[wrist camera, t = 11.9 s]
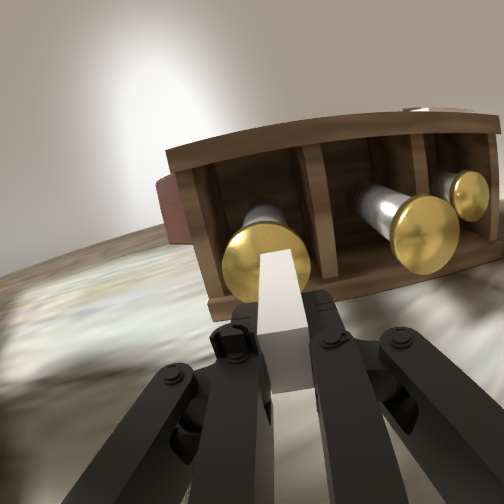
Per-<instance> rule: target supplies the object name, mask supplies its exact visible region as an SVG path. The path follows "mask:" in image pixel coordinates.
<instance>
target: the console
mask: <svg viewBox="0 0 504 504" xmlns="http://www.w3.org/2000/svg"><path fill="white" fill-rule="evenodd" d="M496 134H501V128H500V121H499V116H496V115H488V114H477V113H474V110H470V109H455V108H429V107H428V108H423V109H421V108H405V109H403V111H402V112H377V113H362V114H350V115H339V116H330V117H321V118H313V119H306V120H299V121H292V122H287V123H280V124H274V125H269V126H263V127H259V128H253V129H248V130H243V131H238V132H234V133H229V134H225V135H221V136H216V137H212V138H208V139H204V140H200V141H197V142H193V143H189V144H186V145H182V146H178V147H175V148H171V149H168V150H165V151H166V156H167V160H168V165H169V169H170V173H171V174H172V173H175V178H176V182H177V186H178V190H179V194H180V198H181V202H182V205H183V209H184V213H185V217H186V221H187V224H188V228H189V232H190V235H191V239H192V243H193V246H194V250H195V253H196V257H197V260H198V264H199V267H200V270H201V274H202V277H203V280H204V284H205V287H206V290H207V294H208V297H209V301H208V304H207V305H208V308H209V311H210V314H211V317H212V320H213V322H216V321H223V320H230V319H231V317H232V312H233V311H234V309H235V308H236V307H237V306H238V305H239V304H244V303H245V302H243V301H241V300H239V299H238V298H237V297H236V296H234V295H233V293H232V292H231V291H230V290H229V288H228V287H227V285H226V283H225V281H224V278H223V273H222V261H223V257H224V254H225V251H226V248H227V245H228V243H229V241H230V240H231V238H232V237H233V235H234V234H235V233H236V232H237V231H239V230H240V229H241V228H242V226H243V222H244V219H245V215H246V211H247V207H248V205H249V204H250V203H251V201H253V200H254V199H256V198H258V197H261V196H268V197H272V198H274V199H275V200H277V201H278V202H279V204H280V205H281V207H282V209H283V213H284V216H285V219H286V222H287V225H288V227H290V228H291V229H293V230H294V231H295V232H296V233H297V234H298V235H299V236H300V238H301V239H302V241H303V243H304V245H305V247H306V249H307V252H308V255H309V258H310V265H311V268H310V275H309V279H308V282H307V284H306V286H305V287H304V289H303V290H302V291H301V293H304V292H310V291H315V290H321V289H324V290H326V291H327V292H329V293H330V294H331V295H332V298H333V300H334V302H335V301H340V300H345V299H350V298H355V297H359V296H364V295H368V294H373V293H377V292H381V291H386V290H390V289H394V288H398V287H402V286H406V285H410V284H414V283H418V282H422V281H425V280H429V279H433V278H437V277H440V276H444V275H447V274H451V273H454V272H458V271H461V270H465V269H468V268H471V267H475V266H478V265H481V264H484V263H487V262H490V261H494V260H497V259H500V258H501V251H502V241H500V240H498V239H497V237H498V223H499V167H498V154H497V153H498V152H497V142H496ZM427 168H432V169H437V170H442V171H446V172H451V173H455V174H458V173H459V172H461V171H464V170H469V171H473V172H477V173H479V174H481V175H482V176H483V177H484V178H485V180H486V182H487V185H488V188H489V202H488V206H487V209H486V211H485V213H484V214H483V216H482V217H481V218H480V219H479V220H477V221H474V222H468V221H466V220H464V219H462V218H459V217H458V220H459V226H460V234H459V241H458V244H457V247H456V250H455V252H454V254H453V255H452V257H451V259H450V260H449V261H448V262H447V263H446V264H445V265H444V266H443V267H442V268H441V269H439V270H438V271H436V272H434V273H431V274H427V275H419V274H415V273H413V272H411V271H409V270H408V269H407V268H406V267H405V266H404V265H403V264H402V263H401V262H399V261H398V260H397V258H396V257H395V256H394V254H393V252H392V249H391V246H390V241H389V240H388V239H386V238H385V237H384V236H383V235H381V234H380V233H379V232H378V231H376V230H375V229H374V228H373V227H371V226H370V225H369V224H368V223H366V222H365V221H364V220H362V219H361V218H360V217H359V216H357V215H356V214H355V213H353V212H352V211H351V210H350V209H349V208H348V206H347V204H346V192H347V189H348V188H349V186H350V185H351V184H352V183H353V182H355V181H358V180H367V181H370V182H373V183H375V184H378V185H381V186H384V187H386V188H389V189H392V190H394V191H397V192H400V193H402V194H405V195H407V196H410V197H413V196H415V195H419V194H428V195H429V183H428V171H427Z"/></svg>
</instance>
